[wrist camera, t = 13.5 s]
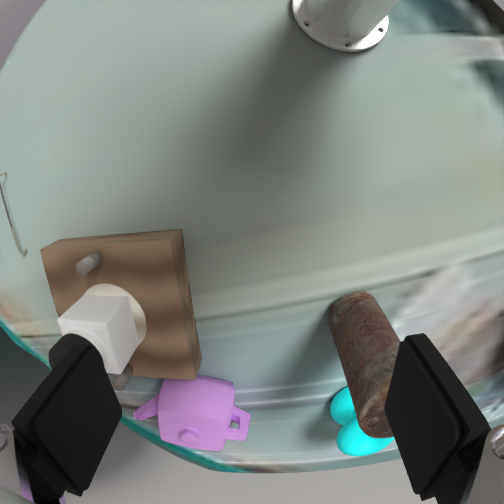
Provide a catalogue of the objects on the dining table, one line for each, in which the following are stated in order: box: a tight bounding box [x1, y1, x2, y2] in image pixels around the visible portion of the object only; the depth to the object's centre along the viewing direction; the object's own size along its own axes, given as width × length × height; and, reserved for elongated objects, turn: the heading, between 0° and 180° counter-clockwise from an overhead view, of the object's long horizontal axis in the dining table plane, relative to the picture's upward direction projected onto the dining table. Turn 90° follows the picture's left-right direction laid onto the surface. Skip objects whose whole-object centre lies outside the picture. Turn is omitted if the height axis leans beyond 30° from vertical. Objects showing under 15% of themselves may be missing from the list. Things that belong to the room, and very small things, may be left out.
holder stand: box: [40, 229, 202, 391], centre depth 38 cm, size 20×20×9 cm
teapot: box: [133, 374, 251, 451], centre depth 42 cm, size 18×10×10 cm, turn 83°
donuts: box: [330, 387, 394, 456], centre depth 42 cm, size 10×10×10 cm
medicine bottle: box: [49, 295, 139, 374], centre depth 31 cm, size 7×7×12 cm
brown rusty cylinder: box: [329, 291, 401, 438], centre depth 32 cm, size 8×7×20 cm
